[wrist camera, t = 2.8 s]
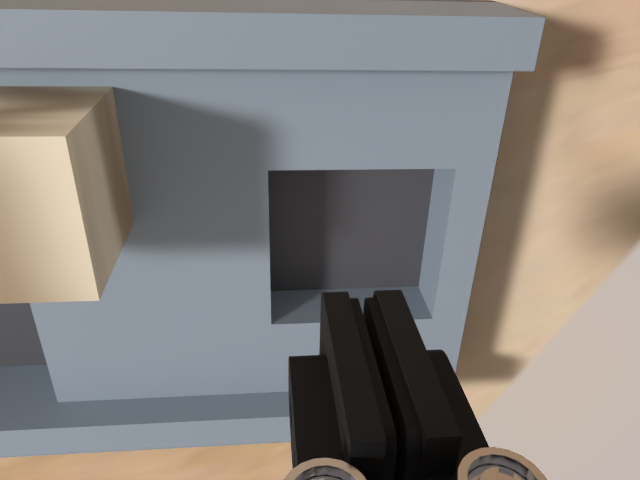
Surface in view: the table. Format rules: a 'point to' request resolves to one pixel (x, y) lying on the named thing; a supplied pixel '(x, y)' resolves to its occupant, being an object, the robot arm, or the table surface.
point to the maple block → (60, 193)
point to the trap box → (255, 201)
